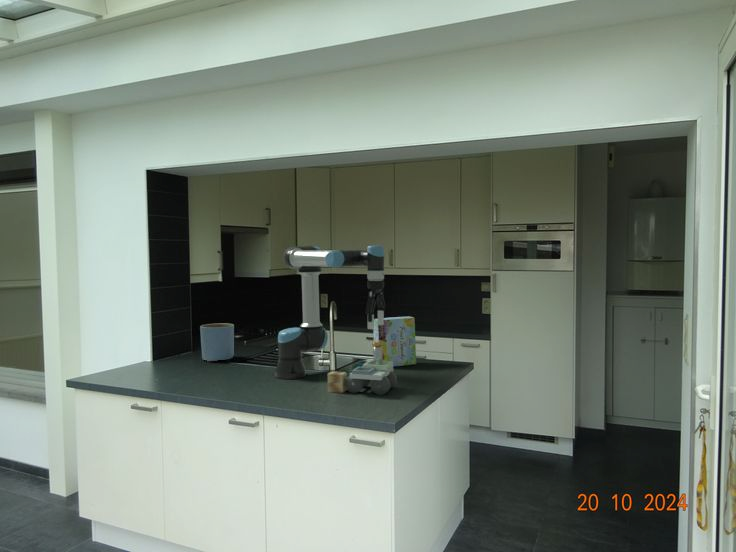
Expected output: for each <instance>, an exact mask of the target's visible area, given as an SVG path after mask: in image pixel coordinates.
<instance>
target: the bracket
mask: <svg viewBox="0 0 736 552" xmlns="http://www.w3.org/2000/svg"><path fill="white" fill-rule="evenodd" d="M366 362H367V361H365V360H364V361H360V362H358V363H355V364H354V365H352V368H351V370H346V369H345V370H343V369H342V370H336V371H335V372H346V376H347V377H348V376H349V375H350V373H352V370H353V369H355V368H357V367H362V366H363V364H365V363H366Z"/></svg>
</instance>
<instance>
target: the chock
mask: <svg viewBox="0 0 736 552" xmlns="http://www.w3.org/2000/svg"><path fill="white" fill-rule="evenodd" d="M346 378H347V376H346V372H336V371H330V372H328V373H327V393H328V392H329V393H340V394H343V393H345V392H346V391H348V390H347V389H346V387H345V380H346Z"/></svg>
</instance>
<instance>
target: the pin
mask: <svg viewBox="0 0 736 552" xmlns="http://www.w3.org/2000/svg"><path fill="white" fill-rule="evenodd" d="M371 343H372V344H371V345H372V351H373V353H372V354H373V355H372V357H373V360H374V365H383V359H382V345H383V343H382V342H374V341H373V342H371Z"/></svg>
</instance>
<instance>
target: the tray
mask: <svg viewBox="0 0 736 552" xmlns="http://www.w3.org/2000/svg"><path fill="white" fill-rule="evenodd" d="M363 367H374V368H376V371H385V372H387V371H388V370H390V369H391V368H392V367H393V361H383V365H374V359H373V360H368V361H366V363H365V364H363ZM393 368H394V367H393Z"/></svg>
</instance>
